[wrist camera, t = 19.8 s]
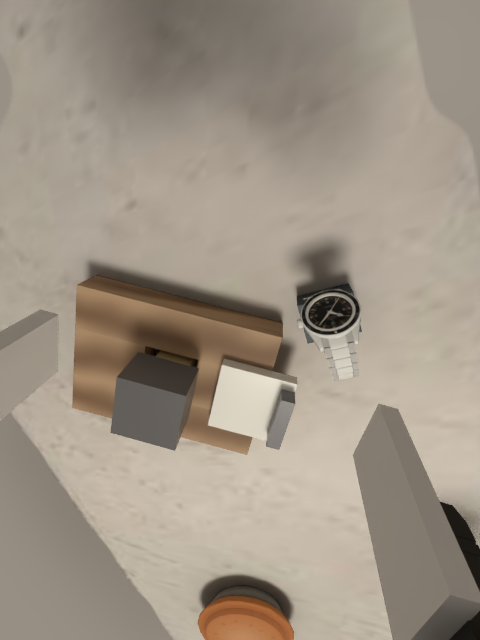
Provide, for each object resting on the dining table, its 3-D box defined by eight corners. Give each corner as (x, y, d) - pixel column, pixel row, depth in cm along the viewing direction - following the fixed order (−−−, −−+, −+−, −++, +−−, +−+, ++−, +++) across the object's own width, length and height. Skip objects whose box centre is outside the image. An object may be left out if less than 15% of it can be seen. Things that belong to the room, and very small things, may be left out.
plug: (158, 329, 41) (116, 377, 31) (210, 343, 41) (186, 396, 31) (151, 374, 44) (110, 432, 34) (200, 388, 43) (174, 450, 33)
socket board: (96, 275, 40) (77, 285, 36) (282, 323, 39) (282, 337, 35) (89, 389, 46) (72, 407, 42) (250, 432, 45) (247, 454, 41)
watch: (344, 265, 36) (367, 298, 26) (359, 334, 38) (385, 389, 28) (291, 279, 37) (293, 316, 27) (309, 345, 40) (316, 401, 29)
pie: (196, 620, 62) (189, 655, 58) (211, 566, 56) (204, 600, 52) (280, 643, 61) (280, 680, 57) (303, 591, 56) (305, 628, 51)
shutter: (224, 358, 37) (218, 374, 34) (297, 377, 37) (298, 395, 33) (210, 417, 40) (203, 437, 37) (277, 435, 40) (276, 456, 37)
